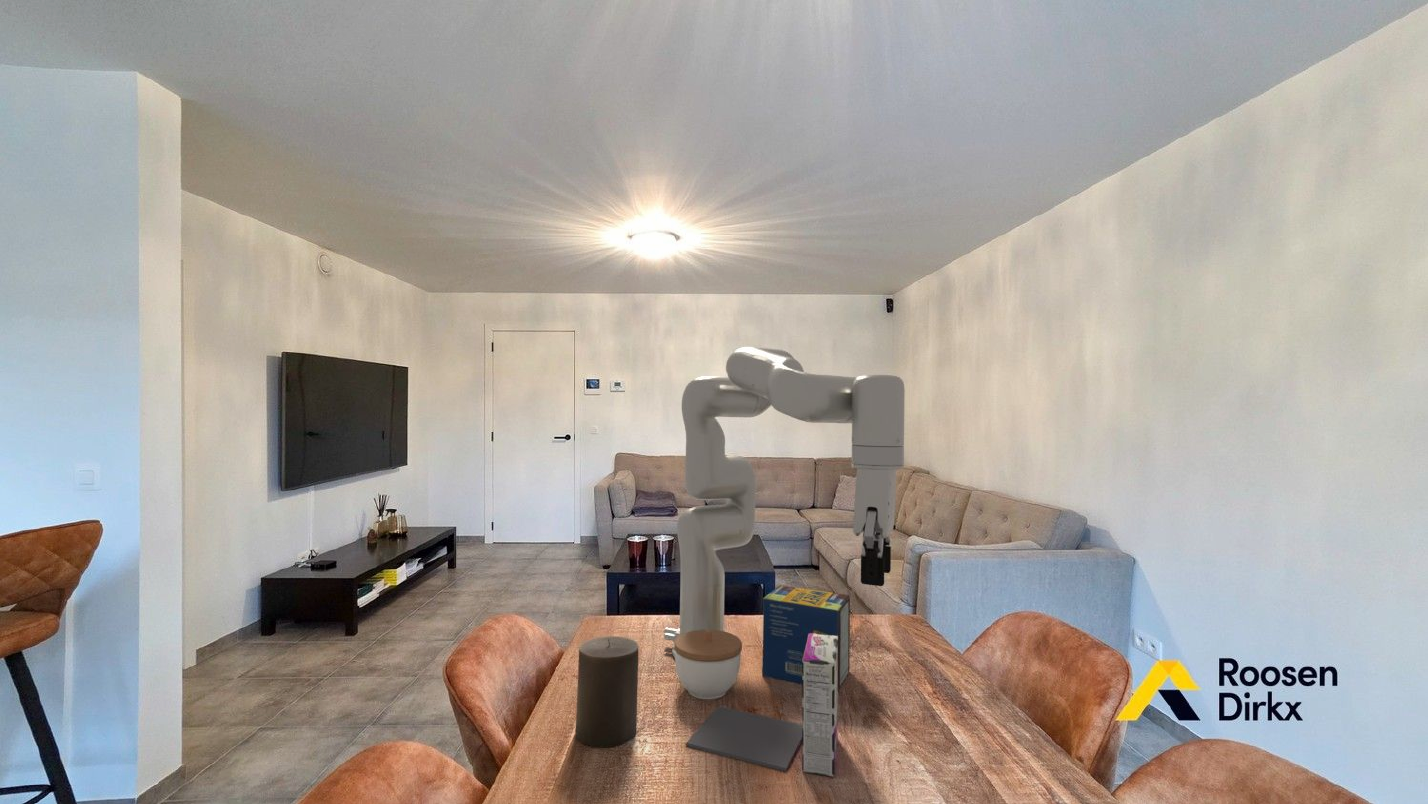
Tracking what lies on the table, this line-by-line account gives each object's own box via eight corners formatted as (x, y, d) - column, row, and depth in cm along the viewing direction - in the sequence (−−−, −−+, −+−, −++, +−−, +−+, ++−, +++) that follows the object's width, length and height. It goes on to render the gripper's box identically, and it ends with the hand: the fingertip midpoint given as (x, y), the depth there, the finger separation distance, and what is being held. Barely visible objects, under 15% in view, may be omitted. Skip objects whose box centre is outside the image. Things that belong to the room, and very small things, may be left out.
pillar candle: (610, 754, 89) (614, 653, 90) (562, 736, 94) (565, 640, 95) (648, 726, 98) (651, 634, 98) (602, 711, 103) (605, 623, 103)
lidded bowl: (747, 704, 106) (748, 642, 106) (677, 709, 104) (678, 645, 104) (733, 674, 118) (734, 618, 118) (670, 677, 116) (671, 620, 116)
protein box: (777, 657, 127) (779, 584, 127) (850, 671, 120) (851, 594, 121) (760, 676, 117) (761, 597, 118) (838, 693, 111) (839, 609, 111)
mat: (686, 745, 92) (686, 742, 92) (718, 708, 104) (718, 705, 104) (786, 771, 86) (786, 768, 86) (808, 728, 98) (808, 725, 98)
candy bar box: (806, 733, 96) (808, 631, 97) (838, 737, 95) (839, 634, 96) (799, 773, 86) (801, 658, 86) (834, 779, 84) (836, 662, 85)
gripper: (861, 454, 98) (860, 562, 98) (841, 460, 82) (839, 589, 82) (908, 455, 95) (907, 567, 95) (897, 463, 79) (896, 597, 79)
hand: (876, 576), depth 88 cm, fingers open, 7 cm apart
